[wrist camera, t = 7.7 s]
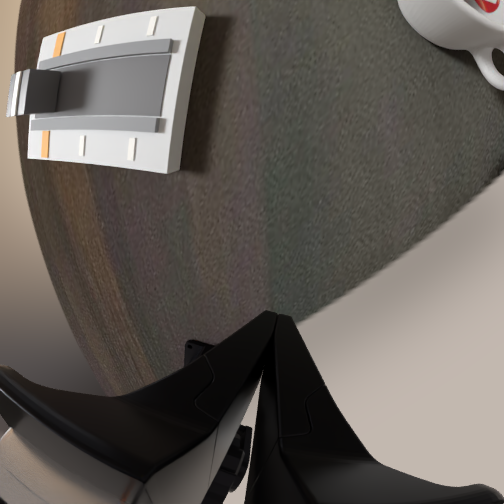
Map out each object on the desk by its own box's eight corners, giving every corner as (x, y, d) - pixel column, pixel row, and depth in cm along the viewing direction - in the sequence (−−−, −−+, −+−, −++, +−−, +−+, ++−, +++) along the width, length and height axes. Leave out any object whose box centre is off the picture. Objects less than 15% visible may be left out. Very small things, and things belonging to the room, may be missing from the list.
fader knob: (54, 112, 18) (21, 114, 15) (35, 114, 18) (4, 117, 15) (60, 71, 17) (28, 68, 13) (40, 76, 17) (9, 74, 14)
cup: (511, 85, 12) (576, 77, 5) (441, 110, 15) (505, 102, 8) (440, -32, 10) (477, -78, 3) (362, -17, 13) (378, -79, 5)
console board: (179, 170, 20) (163, 174, 18) (42, 155, 22) (24, 159, 20) (205, 16, 16) (192, 3, 13) (57, 40, 18) (39, 37, 15)
